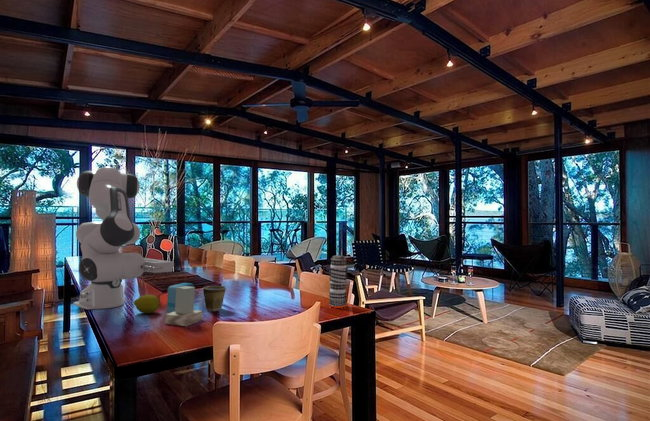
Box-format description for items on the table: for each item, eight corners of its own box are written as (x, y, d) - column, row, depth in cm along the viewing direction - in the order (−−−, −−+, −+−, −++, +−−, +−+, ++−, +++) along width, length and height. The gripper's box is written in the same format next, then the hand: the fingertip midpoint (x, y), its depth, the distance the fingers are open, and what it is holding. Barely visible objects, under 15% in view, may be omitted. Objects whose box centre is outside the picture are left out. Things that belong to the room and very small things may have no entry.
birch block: (165, 324, 146) (165, 314, 146) (182, 318, 155) (182, 308, 155) (186, 327, 143) (186, 317, 143) (202, 320, 152) (202, 310, 152)
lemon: (163, 312, 163) (164, 293, 163) (151, 316, 155) (152, 297, 155) (142, 310, 165) (143, 292, 165) (129, 314, 157) (130, 295, 158)
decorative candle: (344, 309, 176) (345, 257, 177) (325, 307, 179) (327, 256, 179) (348, 305, 185) (349, 255, 185) (330, 303, 188) (332, 254, 188)
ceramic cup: (228, 310, 169) (228, 288, 169) (206, 313, 163) (206, 290, 163) (218, 304, 179) (219, 283, 179) (197, 306, 174) (198, 285, 174)
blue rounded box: (175, 315, 158) (176, 287, 158) (166, 314, 159) (167, 286, 160) (193, 309, 169) (194, 282, 170) (184, 308, 171) (185, 282, 171)
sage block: (174, 312, 149) (176, 287, 149) (184, 310, 153) (186, 285, 153) (183, 314, 146) (185, 288, 147) (193, 311, 151) (194, 287, 151)
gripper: (154, 259, 123) (185, 257, 135) (111, 253, 130) (144, 252, 143) (153, 278, 122) (183, 274, 135) (110, 271, 130) (142, 268, 143)
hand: (163, 262), depth 139 cm, fingers open, 8 cm apart
